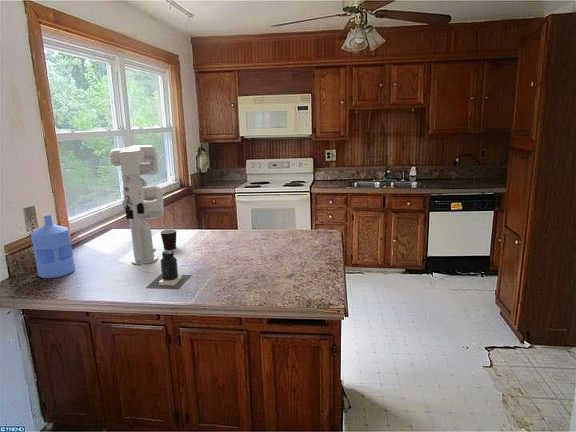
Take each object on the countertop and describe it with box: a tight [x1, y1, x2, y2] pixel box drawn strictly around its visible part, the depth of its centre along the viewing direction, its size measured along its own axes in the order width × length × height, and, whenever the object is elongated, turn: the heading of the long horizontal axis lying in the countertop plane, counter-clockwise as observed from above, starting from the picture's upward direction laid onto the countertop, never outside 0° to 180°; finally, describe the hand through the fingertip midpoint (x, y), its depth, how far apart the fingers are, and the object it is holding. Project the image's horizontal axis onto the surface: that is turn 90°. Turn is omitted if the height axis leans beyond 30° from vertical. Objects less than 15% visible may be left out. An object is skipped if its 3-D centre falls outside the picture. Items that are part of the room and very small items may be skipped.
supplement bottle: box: [160, 250, 179, 280], centre depth 174 cm, size 7×7×12 cm
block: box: [159, 273, 184, 286], centre depth 175 cm, size 9×2×7 cm
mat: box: [145, 273, 193, 290], centre depth 176 cm, size 16×15×1 cm
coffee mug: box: [160, 228, 177, 251], centre depth 224 cm, size 12×9×10 cm
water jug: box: [30, 215, 76, 279], centre depth 187 cm, size 16×16×28 cm
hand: (135, 216), depth 179 cm, fingers open, 9 cm apart
